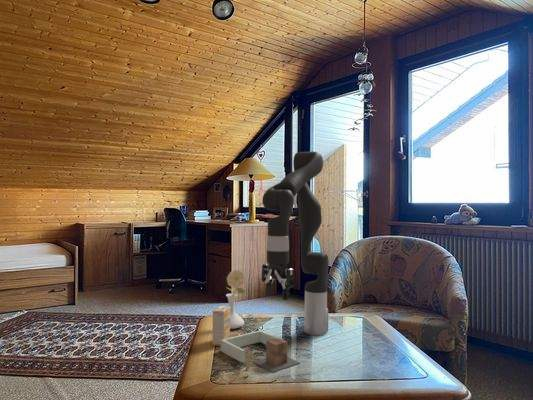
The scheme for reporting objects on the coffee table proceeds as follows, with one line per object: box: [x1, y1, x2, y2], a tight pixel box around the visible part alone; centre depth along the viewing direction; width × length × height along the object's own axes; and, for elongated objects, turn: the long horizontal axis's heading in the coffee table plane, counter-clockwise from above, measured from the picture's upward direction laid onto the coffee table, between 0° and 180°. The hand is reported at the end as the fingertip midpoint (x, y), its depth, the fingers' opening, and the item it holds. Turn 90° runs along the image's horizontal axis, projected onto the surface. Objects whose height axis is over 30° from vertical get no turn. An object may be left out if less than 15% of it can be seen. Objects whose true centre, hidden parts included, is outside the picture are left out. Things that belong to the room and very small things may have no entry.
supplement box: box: [211, 305, 231, 347], centre depth 153 cm, size 8×5×13 cm, turn 168°
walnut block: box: [265, 337, 288, 366], centre depth 134 cm, size 5×5×7 cm
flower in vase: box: [225, 269, 247, 330], centre depth 172 cm, size 13×11×25 cm
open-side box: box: [220, 330, 278, 364], centre depth 144 cm, size 18×14×4 cm
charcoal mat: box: [253, 356, 301, 374], centre depth 134 cm, size 12×10×1 cm
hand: (277, 297), depth 134 cm, fingers open, 8 cm apart
